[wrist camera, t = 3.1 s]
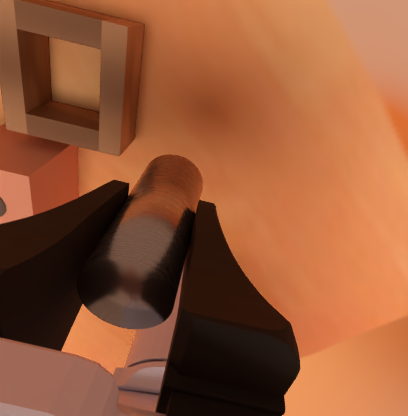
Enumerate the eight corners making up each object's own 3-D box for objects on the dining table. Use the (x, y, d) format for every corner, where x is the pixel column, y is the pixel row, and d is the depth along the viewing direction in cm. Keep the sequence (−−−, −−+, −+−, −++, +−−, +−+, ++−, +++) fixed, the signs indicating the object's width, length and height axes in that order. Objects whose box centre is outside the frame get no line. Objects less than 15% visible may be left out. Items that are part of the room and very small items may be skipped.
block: (78, 198, 25) (35, 246, 20) (16, 183, 25) (-43, 228, 20) (77, 138, 22) (27, 177, 17) (8, 122, 22) (-63, 156, 17)
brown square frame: (134, 139, 22) (119, 156, 19) (34, 115, 22) (6, 129, 19) (144, 24, 18) (127, 26, 15) (23, -6, 18) (-13, -8, 15)
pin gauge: (196, 213, 16) (166, 337, 10) (141, 200, 16) (76, 317, 10) (208, 162, 14) (181, 272, 8) (147, 148, 14) (75, 248, 8)
